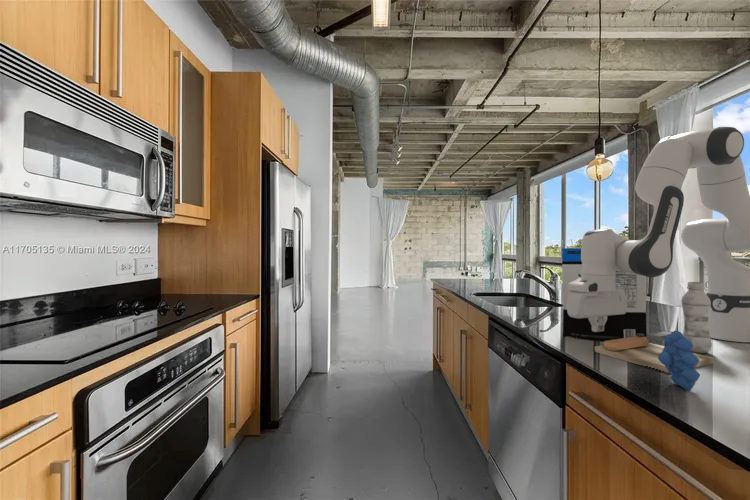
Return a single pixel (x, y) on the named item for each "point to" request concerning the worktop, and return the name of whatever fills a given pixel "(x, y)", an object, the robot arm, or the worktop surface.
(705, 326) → the plastic bottle
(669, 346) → the grapes
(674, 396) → the worktop surface
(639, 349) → the board
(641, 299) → the protein powder
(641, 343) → the link
